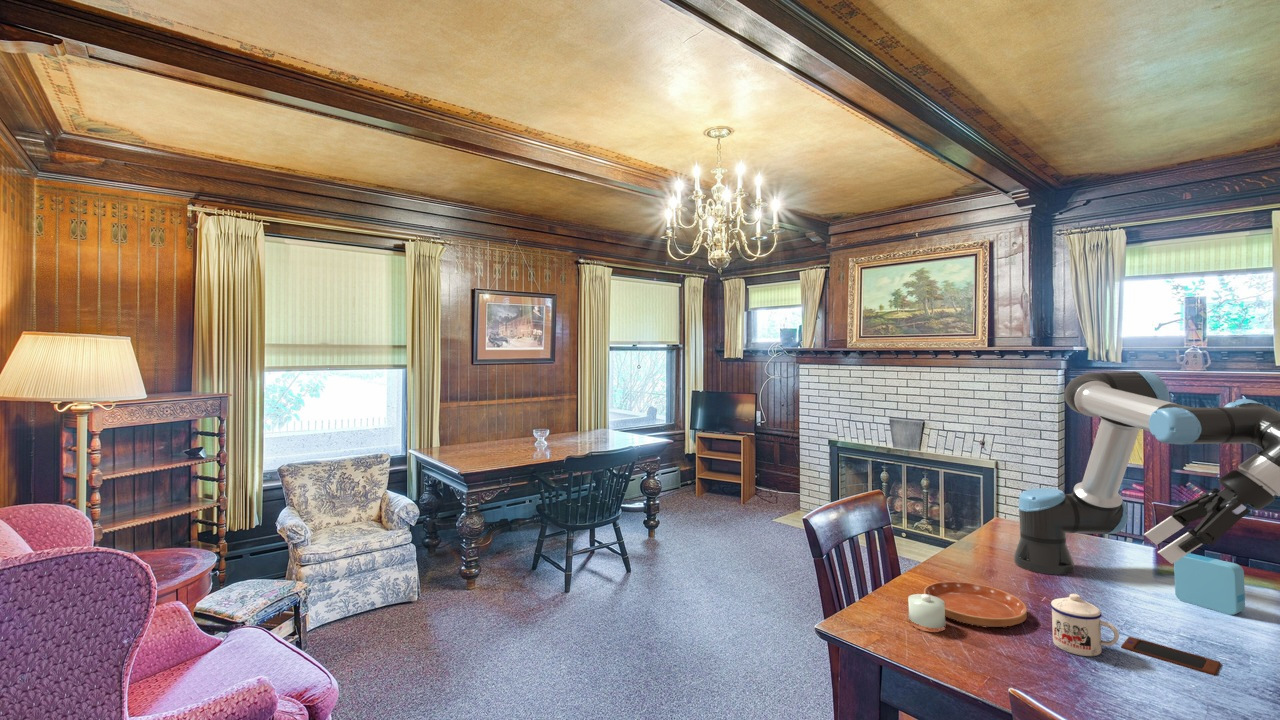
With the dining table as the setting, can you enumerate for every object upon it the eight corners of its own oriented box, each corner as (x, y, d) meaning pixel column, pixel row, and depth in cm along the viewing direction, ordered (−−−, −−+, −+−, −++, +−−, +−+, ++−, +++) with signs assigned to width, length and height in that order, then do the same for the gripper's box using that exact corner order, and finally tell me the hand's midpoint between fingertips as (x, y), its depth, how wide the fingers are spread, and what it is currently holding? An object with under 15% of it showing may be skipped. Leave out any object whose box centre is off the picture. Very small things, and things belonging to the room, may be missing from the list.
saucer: (1018, 601, 152) (1017, 587, 152) (1036, 640, 131) (1035, 624, 131) (922, 589, 161) (922, 576, 161) (925, 623, 140) (925, 608, 140)
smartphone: (1128, 635, 130) (1221, 661, 118) (1128, 639, 130) (1221, 665, 118) (1120, 645, 126) (1215, 673, 114) (1120, 649, 126) (1215, 678, 114)
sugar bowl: (911, 615, 145) (910, 586, 145) (946, 622, 140) (946, 593, 140) (906, 627, 138) (905, 598, 138) (943, 635, 134) (942, 605, 134)
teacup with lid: (1046, 646, 127) (1044, 594, 127) (1058, 633, 133) (1056, 583, 133) (1114, 667, 118) (1112, 611, 118) (1124, 652, 124) (1122, 599, 124)
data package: (1245, 613, 140) (1244, 565, 141) (1237, 617, 139) (1235, 568, 139) (1183, 596, 151) (1182, 551, 151) (1174, 599, 150) (1173, 553, 150)
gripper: (1305, 512, 99) (1191, 583, 107) (1252, 485, 120) (1160, 546, 128) (1260, 479, 102) (1152, 550, 110) (1216, 458, 123) (1129, 519, 131)
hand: (1156, 548), depth 119 cm, fingers open, 13 cm apart
